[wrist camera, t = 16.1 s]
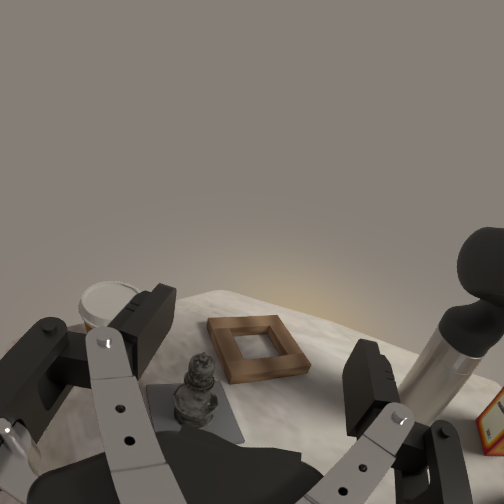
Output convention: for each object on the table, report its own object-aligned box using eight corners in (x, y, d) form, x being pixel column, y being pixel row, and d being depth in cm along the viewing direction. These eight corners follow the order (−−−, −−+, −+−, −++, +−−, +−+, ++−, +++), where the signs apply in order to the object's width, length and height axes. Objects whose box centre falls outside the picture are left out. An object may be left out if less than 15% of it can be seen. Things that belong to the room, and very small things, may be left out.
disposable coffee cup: (158, 371, 43) (163, 308, 38) (105, 395, 36) (97, 331, 31) (125, 334, 48) (126, 273, 43) (76, 352, 40) (67, 288, 36)
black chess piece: (164, 403, 37) (168, 339, 32) (202, 393, 40) (215, 330, 36) (183, 437, 33) (191, 378, 28) (223, 424, 36) (241, 364, 31)
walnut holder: (274, 322, 61) (277, 315, 60) (307, 372, 50) (311, 364, 49) (206, 326, 55) (208, 317, 55) (229, 384, 44) (232, 375, 43)
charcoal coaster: (219, 382, 44) (219, 380, 43) (243, 442, 35) (244, 440, 34) (146, 387, 39) (146, 385, 39) (159, 453, 30) (159, 451, 30)
